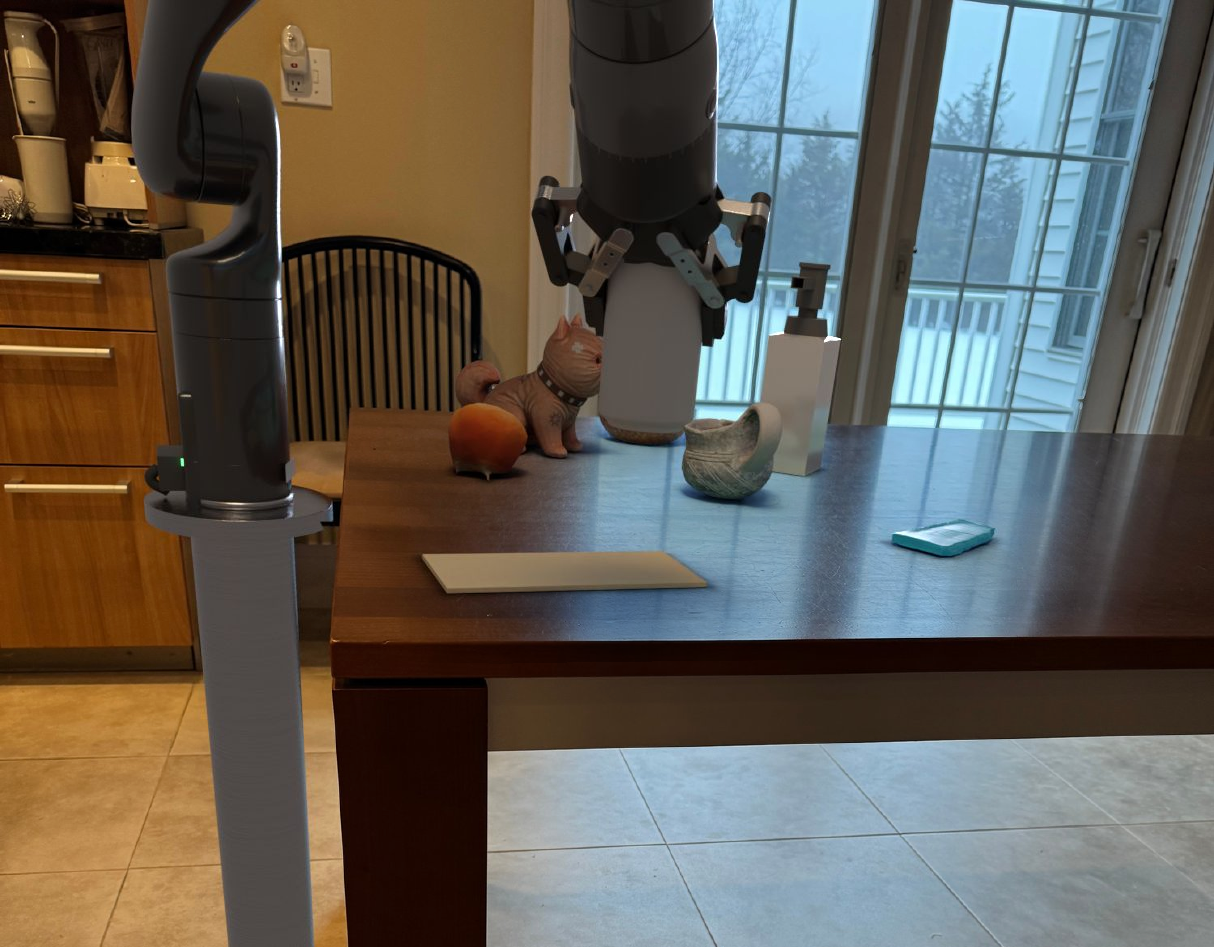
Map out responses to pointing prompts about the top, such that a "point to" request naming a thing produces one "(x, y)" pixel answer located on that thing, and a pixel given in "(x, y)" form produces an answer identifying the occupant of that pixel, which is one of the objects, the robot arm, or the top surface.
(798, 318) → the soap dispenser
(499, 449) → the fruit
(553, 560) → the board
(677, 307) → the beverage can
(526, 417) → the figurine
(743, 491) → the mug
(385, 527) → the top surface
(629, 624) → the top surface
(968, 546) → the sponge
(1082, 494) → the top surface
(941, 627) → the top surface
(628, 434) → the planter
